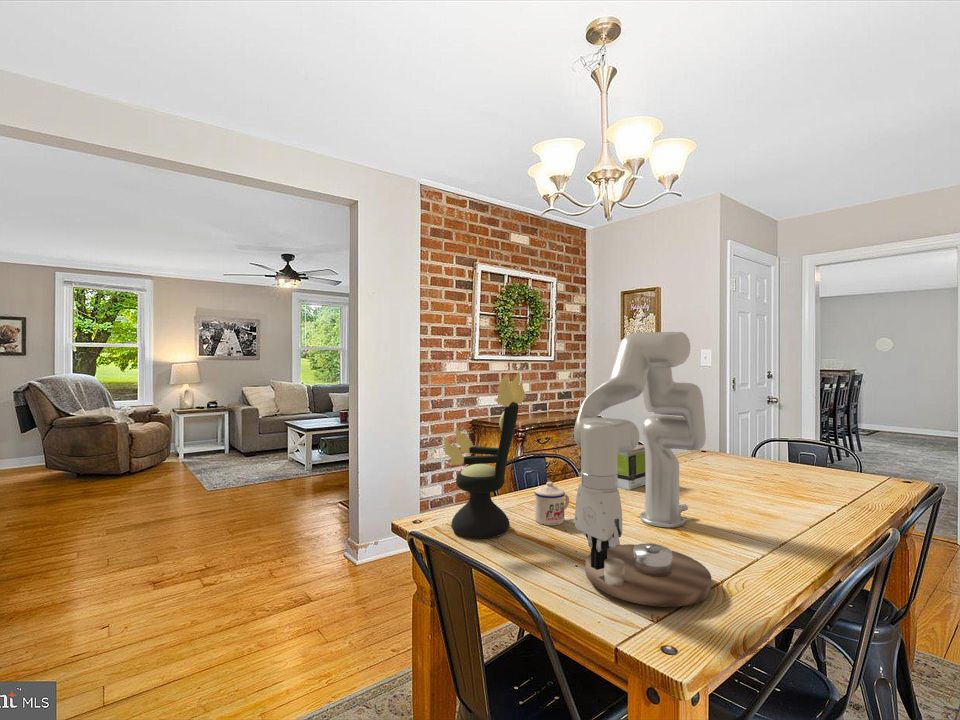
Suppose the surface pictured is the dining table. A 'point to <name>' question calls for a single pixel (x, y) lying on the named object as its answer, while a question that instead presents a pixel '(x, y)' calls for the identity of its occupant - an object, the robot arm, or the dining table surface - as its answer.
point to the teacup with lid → (550, 504)
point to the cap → (652, 560)
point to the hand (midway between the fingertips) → (598, 567)
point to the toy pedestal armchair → (485, 470)
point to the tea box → (631, 468)
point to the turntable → (650, 580)
